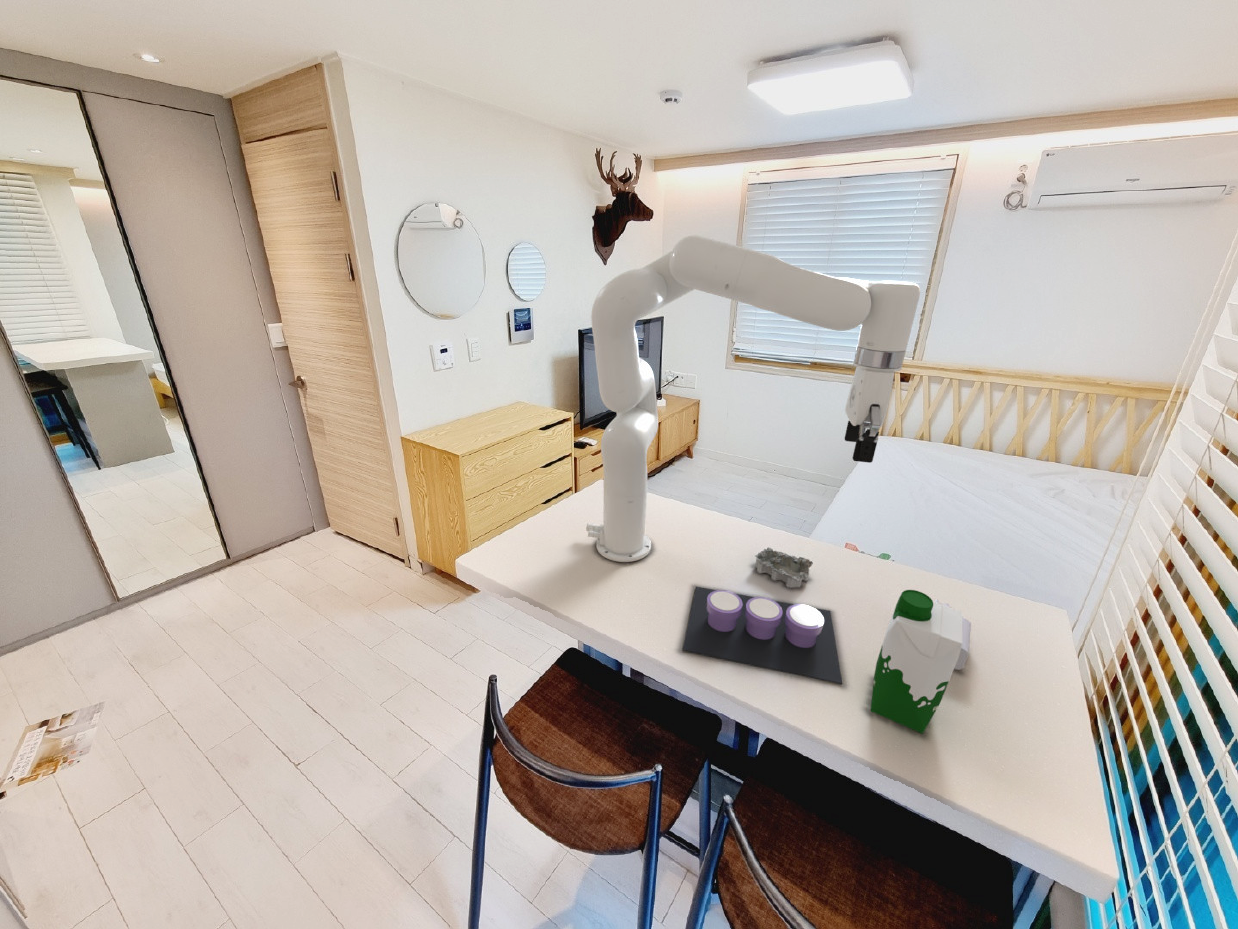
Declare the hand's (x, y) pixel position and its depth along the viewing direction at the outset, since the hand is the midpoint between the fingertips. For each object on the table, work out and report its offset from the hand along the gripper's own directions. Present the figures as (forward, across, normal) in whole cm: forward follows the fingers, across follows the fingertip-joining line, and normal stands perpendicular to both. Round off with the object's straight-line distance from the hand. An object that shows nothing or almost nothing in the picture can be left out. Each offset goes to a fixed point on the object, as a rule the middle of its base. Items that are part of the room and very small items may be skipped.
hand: (857, 450), depth 93 cm
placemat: (+30, +18, -13) cm, 38 cm away
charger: (+31, +10, +18) cm, 37 cm away
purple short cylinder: (+30, +18, -20) cm, 40 cm away
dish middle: (+30, +18, -13) cm, 37 cm away
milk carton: (+31, +29, +8) cm, 43 cm away
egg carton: (+30, -1, -9) cm, 32 cm away
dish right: (+30, +18, -6) cm, 36 cm away
